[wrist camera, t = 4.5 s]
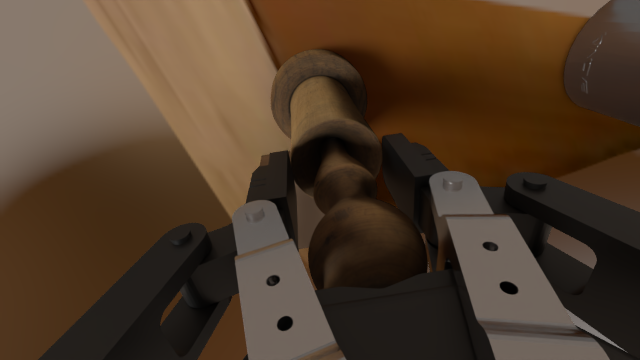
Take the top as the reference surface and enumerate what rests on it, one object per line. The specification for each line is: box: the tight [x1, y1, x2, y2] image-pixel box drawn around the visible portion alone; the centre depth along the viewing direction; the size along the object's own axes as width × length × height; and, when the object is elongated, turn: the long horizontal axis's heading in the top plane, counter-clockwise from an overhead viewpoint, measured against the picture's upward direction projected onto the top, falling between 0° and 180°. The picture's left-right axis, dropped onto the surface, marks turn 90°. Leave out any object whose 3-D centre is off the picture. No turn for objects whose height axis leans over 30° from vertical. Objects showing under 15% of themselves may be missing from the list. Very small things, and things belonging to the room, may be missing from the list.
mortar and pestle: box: [271, 49, 428, 290], centre depth 14 cm, size 7×6×18 cm
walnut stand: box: [260, 151, 325, 249], centre depth 25 cm, size 8×6×5 cm
